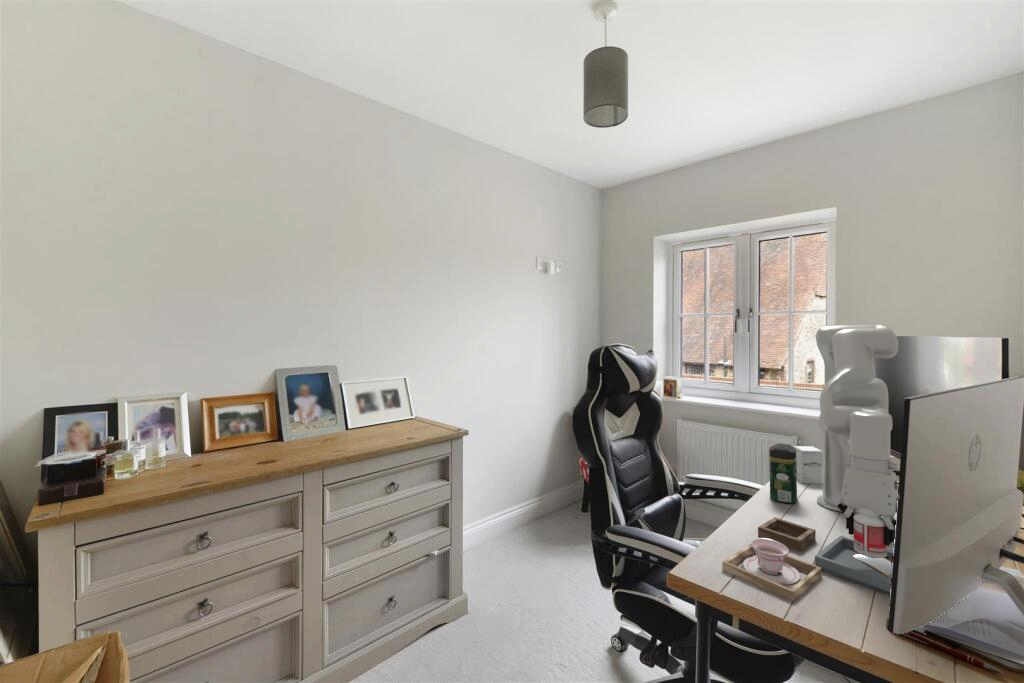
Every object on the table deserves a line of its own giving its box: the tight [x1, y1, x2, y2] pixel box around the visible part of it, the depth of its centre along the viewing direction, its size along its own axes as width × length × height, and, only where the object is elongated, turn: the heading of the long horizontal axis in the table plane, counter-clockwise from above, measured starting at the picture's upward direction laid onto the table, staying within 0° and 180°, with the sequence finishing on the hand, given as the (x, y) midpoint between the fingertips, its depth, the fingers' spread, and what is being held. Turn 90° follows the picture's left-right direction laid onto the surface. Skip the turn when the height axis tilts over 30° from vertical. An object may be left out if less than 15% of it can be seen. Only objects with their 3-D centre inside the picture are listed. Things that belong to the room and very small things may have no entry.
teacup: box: [742, 537, 801, 586], centre depth 105 cm, size 12×12×6 cm
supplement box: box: [792, 445, 823, 485], centre depth 165 cm, size 7×7×13 cm
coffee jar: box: [768, 443, 798, 504], centre depth 148 cm, size 10×8×19 cm
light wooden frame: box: [721, 543, 823, 602], centre depth 104 cm, size 16×16×2 cm
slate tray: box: [814, 535, 894, 597], centre depth 104 cm, size 17×17×3 cm
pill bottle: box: [853, 508, 888, 558], centre depth 104 cm, size 6×6×11 cm
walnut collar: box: [757, 517, 817, 553], centre depth 120 cm, size 10×10×3 cm
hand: (869, 537), depth 104 cm, fingers closed on pill bottle, 6 cm apart
